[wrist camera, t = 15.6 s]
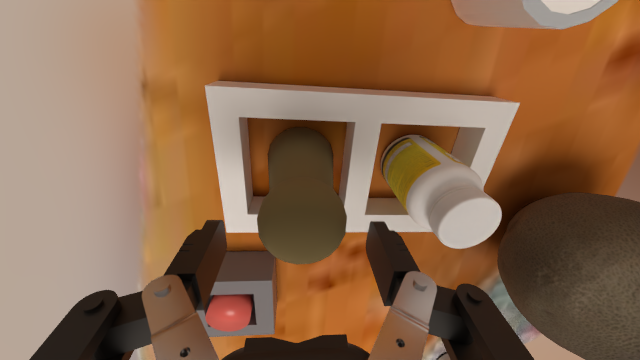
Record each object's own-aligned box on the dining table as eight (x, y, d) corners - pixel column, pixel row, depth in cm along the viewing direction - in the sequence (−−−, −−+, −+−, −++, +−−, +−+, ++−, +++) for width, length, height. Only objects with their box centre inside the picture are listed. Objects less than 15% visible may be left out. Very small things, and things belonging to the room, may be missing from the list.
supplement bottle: (376, 186, 24) (418, 260, 16) (382, 134, 22) (436, 188, 13) (428, 183, 25) (497, 254, 16) (439, 132, 22) (529, 183, 14)
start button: (253, 279, 27) (248, 304, 24) (255, 304, 29) (251, 330, 26) (211, 280, 26) (202, 305, 24) (217, 306, 28) (208, 332, 26)
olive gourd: (260, 132, 21) (228, 202, 11) (329, 122, 21) (356, 183, 11) (275, 191, 24) (260, 287, 14) (336, 182, 24) (362, 272, 14)
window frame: (492, 96, 21) (520, 102, 18) (447, 213, 27) (464, 231, 24) (217, 80, 19) (204, 85, 16) (234, 212, 25) (226, 232, 22)
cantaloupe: (584, 138, 24) (939, 248, 11) (588, 231, 30) (815, 372, 17) (447, 205, 26) (597, 361, 13) (477, 278, 33) (599, 432, 19)
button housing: (275, 251, 27) (272, 280, 24) (277, 302, 32) (274, 333, 28) (192, 252, 27) (175, 282, 23) (205, 304, 31) (193, 337, 27)
